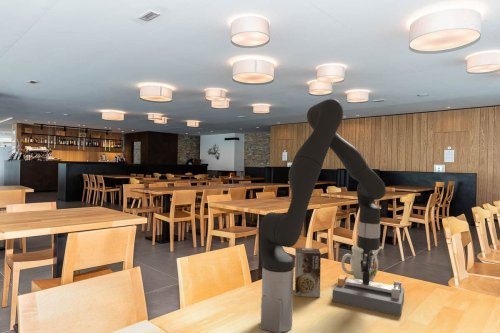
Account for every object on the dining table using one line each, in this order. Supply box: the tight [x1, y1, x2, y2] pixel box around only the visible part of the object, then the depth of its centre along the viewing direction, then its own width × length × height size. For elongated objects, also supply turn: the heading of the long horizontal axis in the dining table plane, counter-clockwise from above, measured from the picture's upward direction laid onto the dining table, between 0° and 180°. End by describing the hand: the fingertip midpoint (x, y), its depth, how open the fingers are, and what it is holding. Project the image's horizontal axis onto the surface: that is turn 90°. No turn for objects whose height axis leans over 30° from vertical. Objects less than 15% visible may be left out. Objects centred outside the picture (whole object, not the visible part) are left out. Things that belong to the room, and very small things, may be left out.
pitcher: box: [340, 245, 384, 282], centre depth 141 cm, size 11×18×14 cm, turn 99°
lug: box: [337, 274, 348, 286], centre depth 125 cm, size 5×2×2 cm, turn 152°
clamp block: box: [331, 276, 405, 317], centre depth 121 cm, size 16×22×7 cm
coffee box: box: [294, 247, 322, 298], centre depth 125 cm, size 9×6×16 cm
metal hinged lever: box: [345, 276, 400, 293], centre depth 120 cm, size 6×18×2 cm, turn 62°
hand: (366, 282), depth 121 cm, fingers closed
